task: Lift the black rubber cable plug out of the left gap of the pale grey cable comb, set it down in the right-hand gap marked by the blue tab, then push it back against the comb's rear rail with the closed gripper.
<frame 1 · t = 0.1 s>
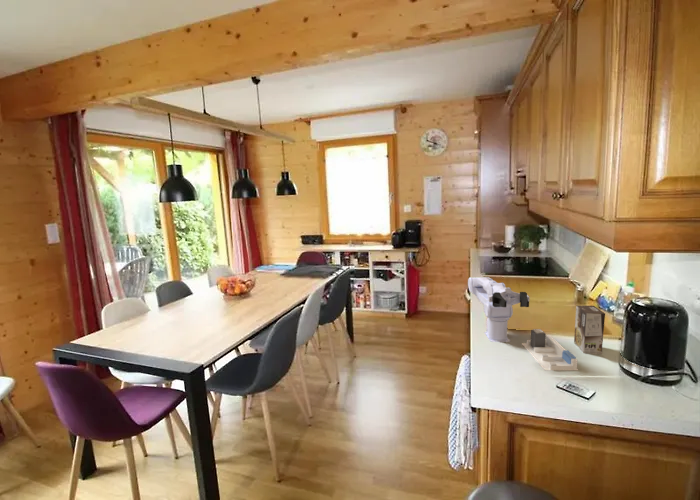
hand: (516, 304, 126), 22 cm above the table, tool horizontal, fingers open, 7 cm apart
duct: (547, 356, 132), on the table
coffee box: (587, 349, 136), on the table
plug: (537, 347, 138), point 1 cm above the table, touching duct
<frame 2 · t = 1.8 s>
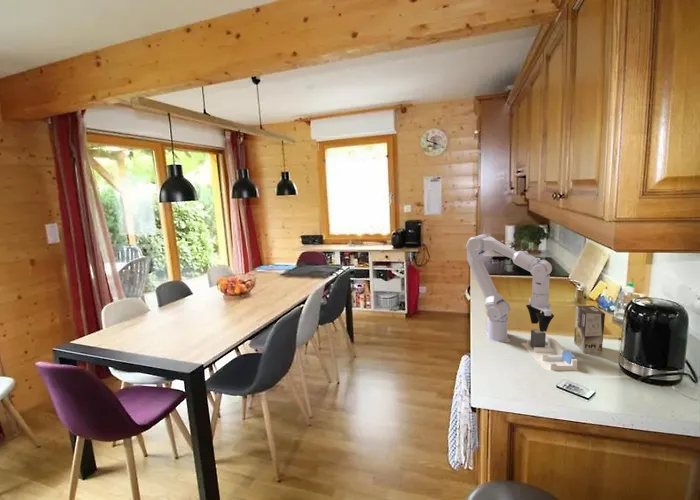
hand: (538, 327, 137), 9 cm above the table, tool pointing down, fingers open, 7 cm apart
nothing on the table moved.
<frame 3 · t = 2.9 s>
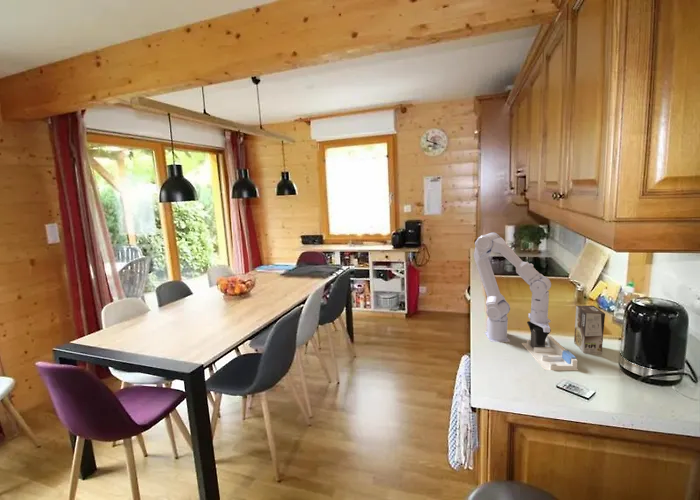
hand: (537, 342, 138), 3 cm above the table, tool pointing down, fingers closed on plug, 4 cm apart
plug: (537, 347, 138), point 1 cm above the table, touching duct, gripper
everything else where it was.
when the fingers open (4 cm above the table, at t = 6.5 s): plug stays where it is, resting on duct.
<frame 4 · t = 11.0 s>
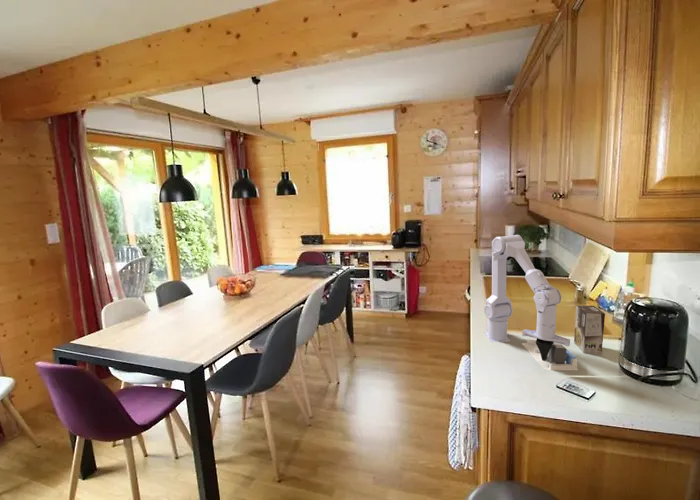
hand: (544, 359, 126), 2 cm above the table, tool pointing down, fingers closed
plug: (555, 363, 126), point 1 cm above the table, touching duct, gripper
everything else where it was.
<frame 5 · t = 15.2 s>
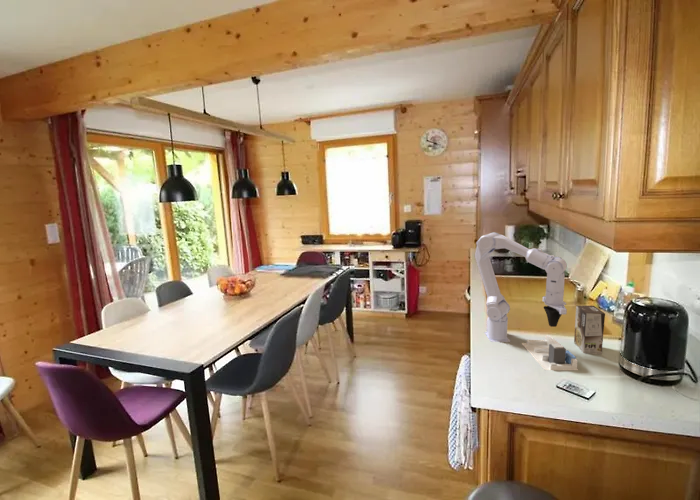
hand: (552, 325, 134), 10 cm above the table, tool pointing down, fingers closed
plug: (556, 363, 126), point 1 cm above the table, touching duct
everything else where it was.
at the end: plug 0.1 cm from the target spot on the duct, point 0.6 cm above the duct's base; plug tilted 0°; the gripper is holding nothing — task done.
